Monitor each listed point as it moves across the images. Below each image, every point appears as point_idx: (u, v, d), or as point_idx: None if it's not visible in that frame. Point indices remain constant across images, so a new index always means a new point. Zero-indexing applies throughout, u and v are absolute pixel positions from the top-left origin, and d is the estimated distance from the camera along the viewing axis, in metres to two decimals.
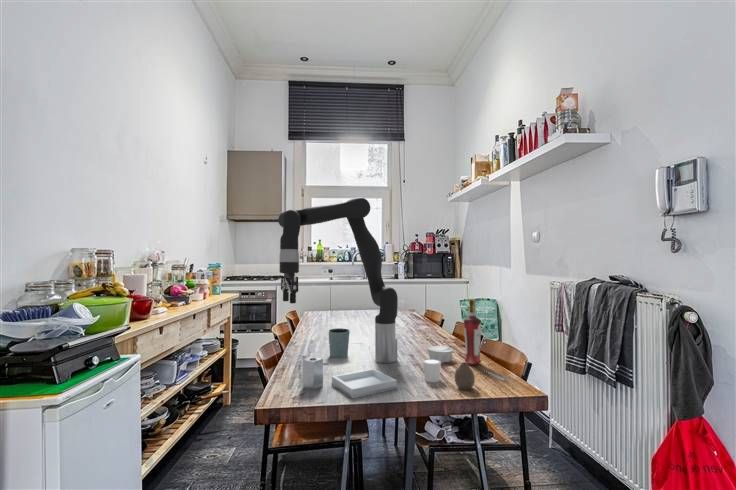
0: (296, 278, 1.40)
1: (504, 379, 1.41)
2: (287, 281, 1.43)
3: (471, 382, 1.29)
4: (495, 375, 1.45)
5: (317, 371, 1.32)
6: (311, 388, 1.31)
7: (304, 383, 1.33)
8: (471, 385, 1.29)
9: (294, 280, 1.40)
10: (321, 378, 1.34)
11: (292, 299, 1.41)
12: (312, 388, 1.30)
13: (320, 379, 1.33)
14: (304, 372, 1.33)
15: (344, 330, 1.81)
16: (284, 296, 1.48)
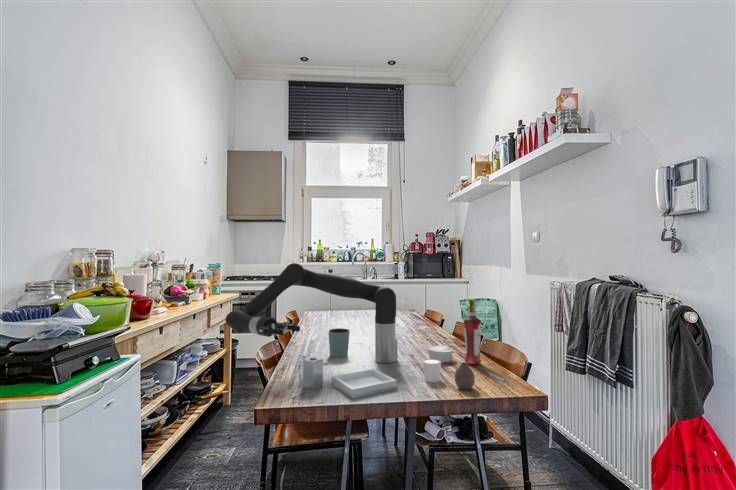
0: (260, 329, 1.40)
1: (503, 379, 1.41)
2: None
3: (471, 382, 1.29)
4: (495, 375, 1.45)
5: (317, 371, 1.32)
6: (311, 388, 1.31)
7: (304, 383, 1.33)
8: (471, 385, 1.29)
9: (261, 331, 1.40)
10: (321, 378, 1.34)
11: (277, 333, 1.37)
12: (312, 388, 1.30)
13: (320, 379, 1.33)
14: (304, 372, 1.33)
15: (344, 330, 1.81)
16: (295, 330, 1.45)
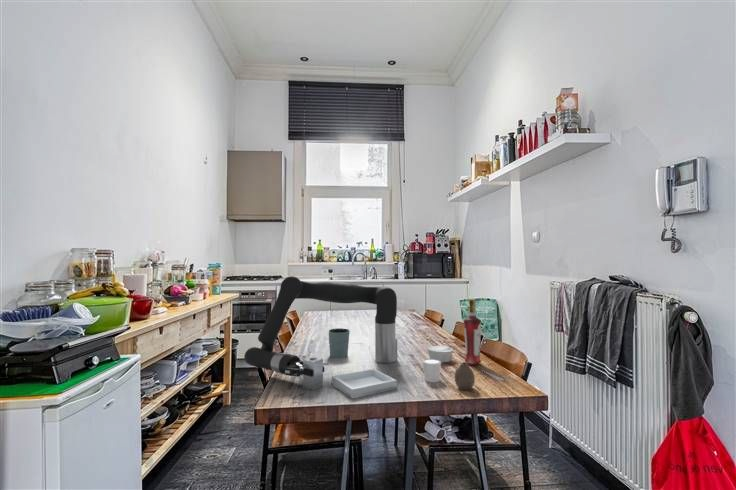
0: (286, 370, 1.32)
1: (502, 379, 1.40)
2: (296, 373, 1.35)
3: (471, 382, 1.29)
4: (493, 375, 1.45)
5: (317, 371, 1.32)
6: (311, 388, 1.31)
7: (304, 383, 1.33)
8: (471, 385, 1.29)
9: (288, 372, 1.32)
10: (321, 378, 1.34)
11: (307, 374, 1.30)
12: (312, 388, 1.30)
13: (320, 379, 1.33)
14: None
15: (344, 330, 1.81)
16: None
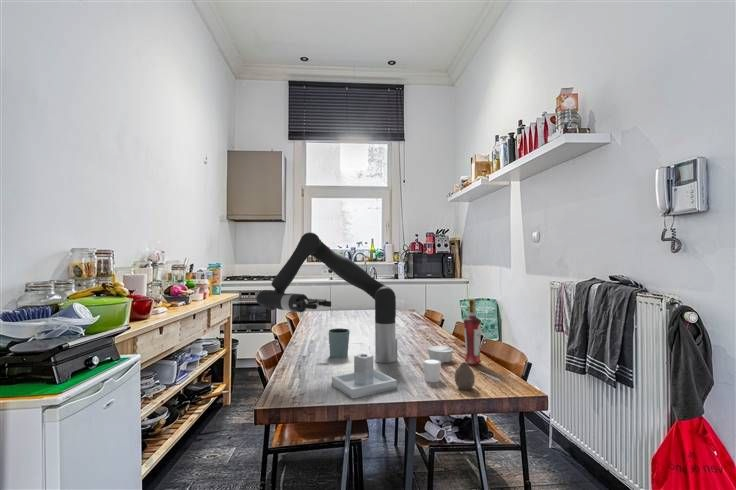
0: (293, 304, 1.45)
1: (500, 380, 1.40)
2: None
3: (471, 382, 1.29)
4: (490, 376, 1.44)
5: (369, 367, 1.32)
6: (363, 384, 1.31)
7: (355, 379, 1.33)
8: (471, 385, 1.29)
9: (294, 306, 1.45)
10: (372, 375, 1.34)
11: (311, 307, 1.42)
12: (364, 384, 1.31)
13: (371, 376, 1.34)
14: (355, 368, 1.33)
15: (344, 330, 1.81)
16: (326, 305, 1.50)
